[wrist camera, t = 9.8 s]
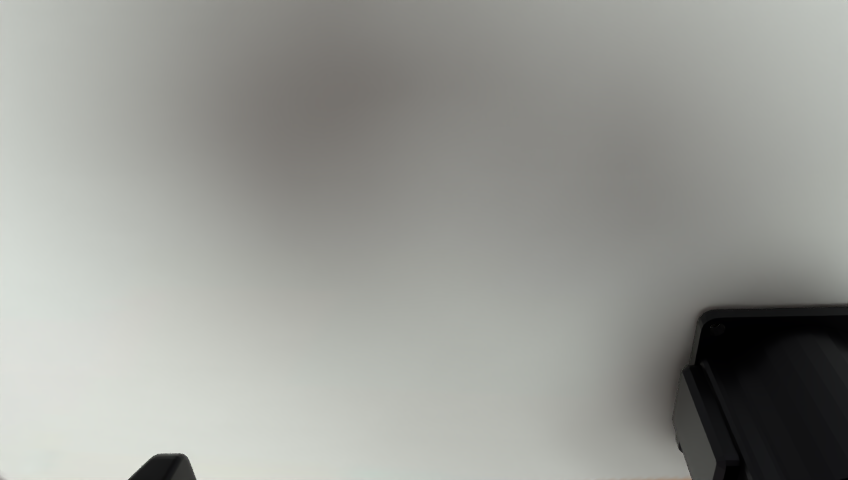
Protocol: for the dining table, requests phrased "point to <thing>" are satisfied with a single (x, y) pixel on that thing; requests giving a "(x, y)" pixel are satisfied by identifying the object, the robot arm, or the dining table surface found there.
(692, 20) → the dining table surface
